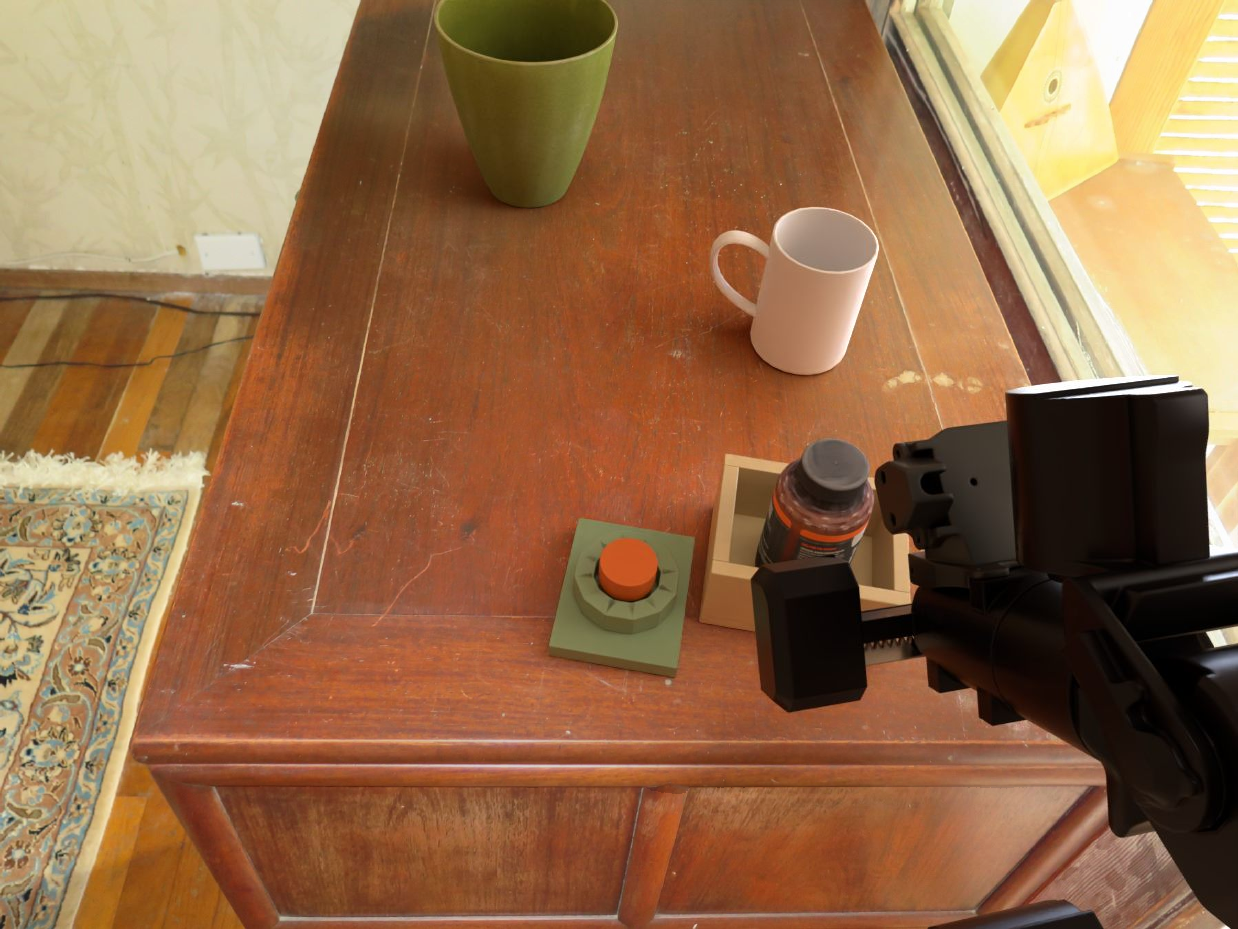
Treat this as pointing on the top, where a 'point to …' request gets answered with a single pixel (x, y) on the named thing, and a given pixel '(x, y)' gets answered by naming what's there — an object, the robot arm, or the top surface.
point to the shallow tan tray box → (739, 534)
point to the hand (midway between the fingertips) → (879, 573)
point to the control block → (623, 603)
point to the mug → (805, 287)
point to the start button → (627, 569)
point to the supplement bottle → (818, 505)
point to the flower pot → (527, 87)
